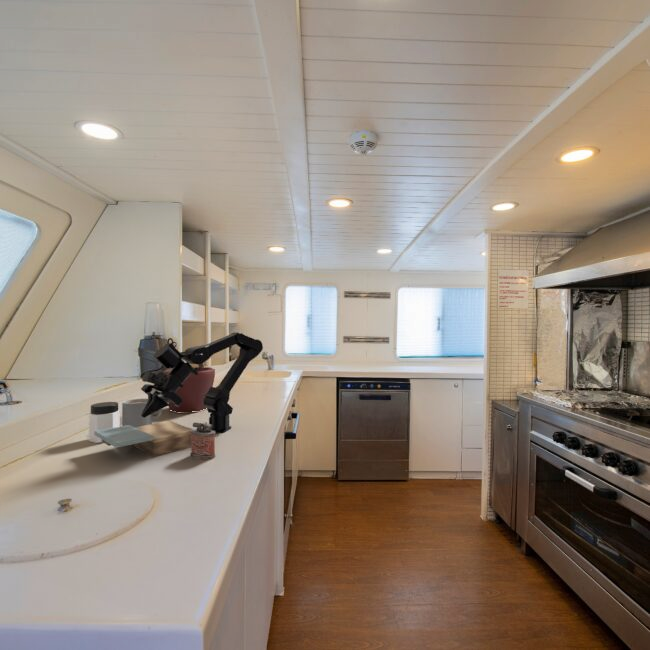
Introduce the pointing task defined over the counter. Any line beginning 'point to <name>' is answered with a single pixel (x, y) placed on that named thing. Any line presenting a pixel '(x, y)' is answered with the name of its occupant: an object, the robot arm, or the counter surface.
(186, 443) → the cart bed
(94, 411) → the jar
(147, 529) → the counter surface
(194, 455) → the lighter
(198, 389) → the bucket
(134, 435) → the grey flat slab
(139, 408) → the grey mug
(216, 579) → the counter surface
